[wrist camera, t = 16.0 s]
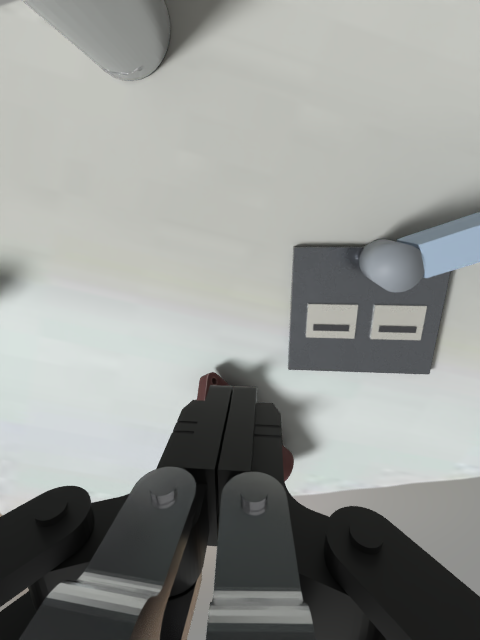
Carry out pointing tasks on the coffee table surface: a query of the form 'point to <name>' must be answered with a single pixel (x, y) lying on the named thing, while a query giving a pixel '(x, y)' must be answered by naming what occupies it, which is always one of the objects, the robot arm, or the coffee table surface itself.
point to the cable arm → (422, 254)
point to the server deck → (359, 316)
